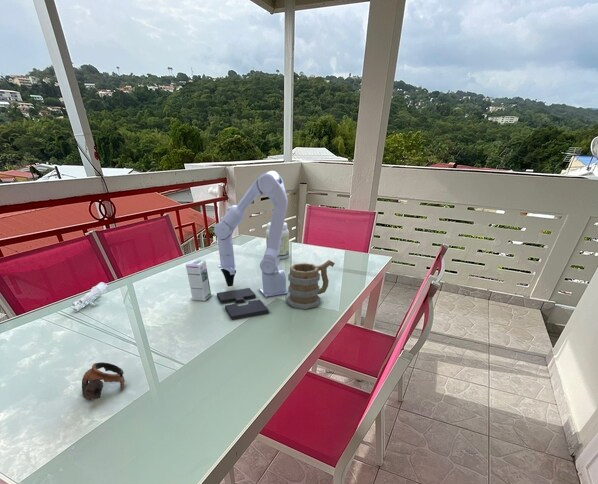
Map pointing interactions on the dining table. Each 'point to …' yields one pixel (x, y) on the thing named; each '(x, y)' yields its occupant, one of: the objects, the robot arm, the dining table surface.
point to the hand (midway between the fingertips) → (230, 285)
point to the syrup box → (198, 280)
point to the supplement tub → (283, 243)
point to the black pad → (236, 296)
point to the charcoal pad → (246, 309)
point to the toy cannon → (91, 296)
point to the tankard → (307, 284)
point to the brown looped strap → (95, 376)
